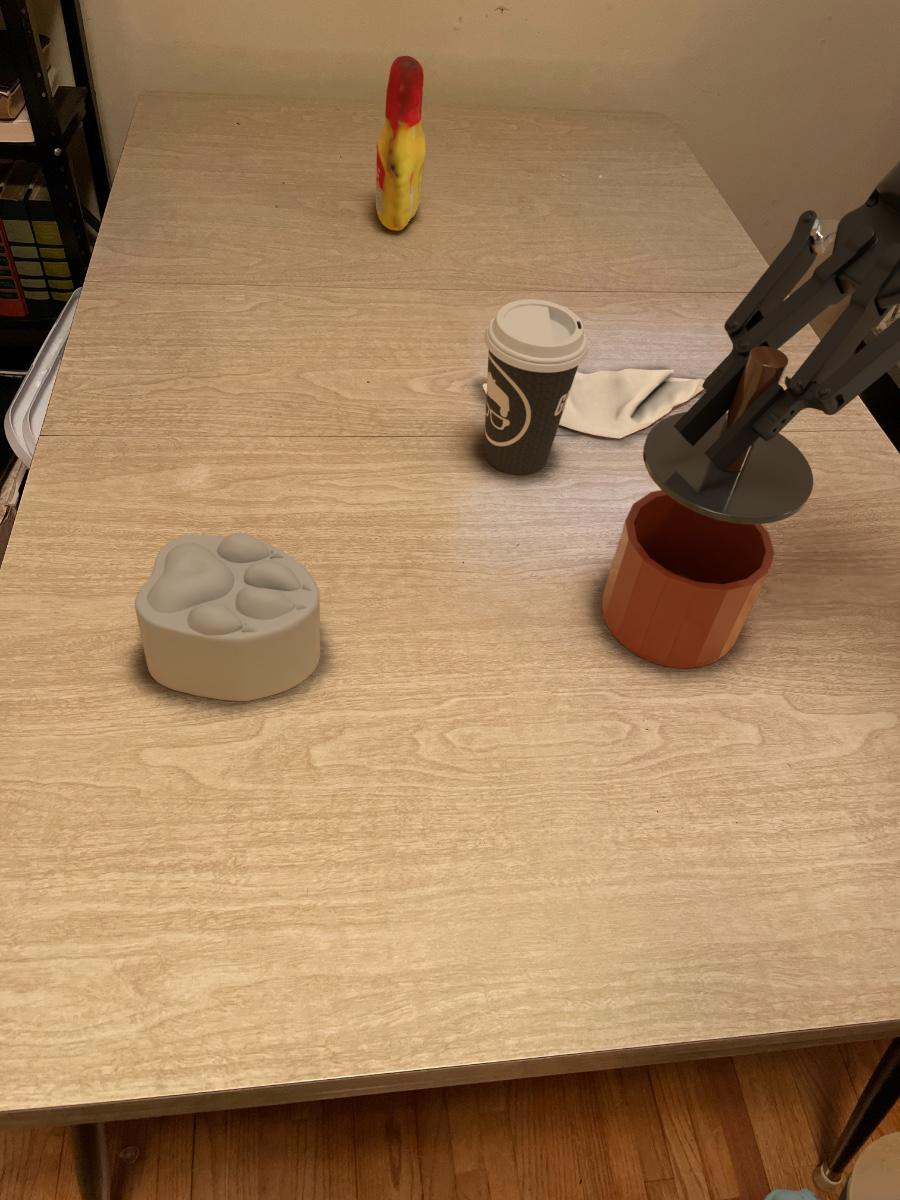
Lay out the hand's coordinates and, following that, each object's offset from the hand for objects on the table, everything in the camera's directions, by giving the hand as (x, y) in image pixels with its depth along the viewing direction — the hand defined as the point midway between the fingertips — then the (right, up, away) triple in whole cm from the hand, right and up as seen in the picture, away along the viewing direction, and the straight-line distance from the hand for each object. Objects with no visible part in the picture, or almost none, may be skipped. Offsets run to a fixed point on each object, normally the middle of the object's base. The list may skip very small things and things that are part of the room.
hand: (699, 449), depth 68 cm
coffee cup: (-11, +4, +29) cm, 32 cm away
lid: (+3, -1, +4) cm, 5 cm away
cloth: (-1, +11, +37) cm, 39 cm away
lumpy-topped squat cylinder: (-34, -15, +9) cm, 39 cm away
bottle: (-25, +41, +62) cm, 78 cm away
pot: (+1, -12, +16) cm, 20 cm away
